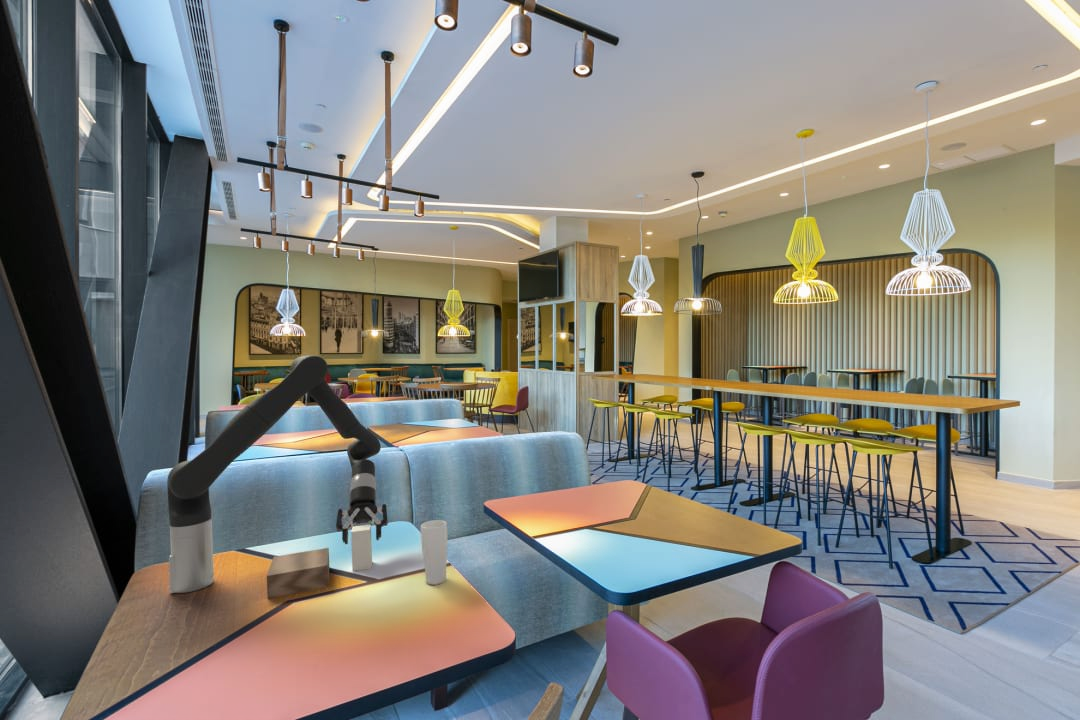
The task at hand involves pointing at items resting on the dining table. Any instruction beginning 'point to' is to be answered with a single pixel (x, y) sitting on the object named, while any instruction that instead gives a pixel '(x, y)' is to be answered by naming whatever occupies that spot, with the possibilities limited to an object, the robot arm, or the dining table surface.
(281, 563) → the walnut box
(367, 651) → the dining table surface
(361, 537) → the offwhite block
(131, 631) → the dining table surface
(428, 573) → the drinking glass
